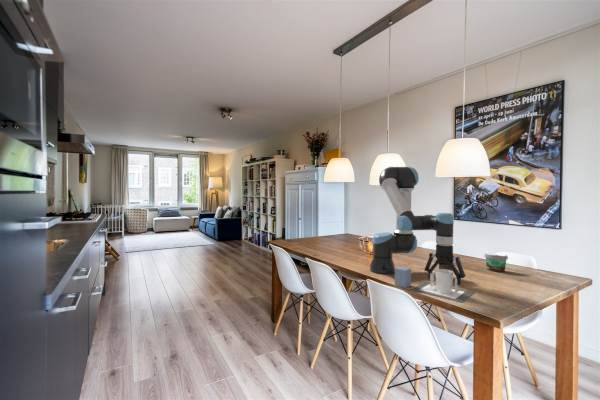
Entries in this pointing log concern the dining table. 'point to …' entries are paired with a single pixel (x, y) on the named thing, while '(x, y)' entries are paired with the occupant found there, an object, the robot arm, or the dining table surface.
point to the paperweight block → (402, 276)
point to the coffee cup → (445, 266)
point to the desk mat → (458, 299)
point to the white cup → (444, 280)
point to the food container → (496, 262)
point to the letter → (433, 290)
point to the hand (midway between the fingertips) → (443, 288)
